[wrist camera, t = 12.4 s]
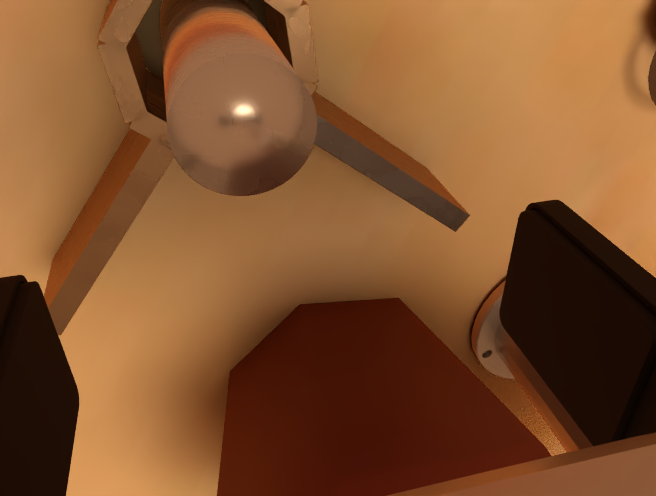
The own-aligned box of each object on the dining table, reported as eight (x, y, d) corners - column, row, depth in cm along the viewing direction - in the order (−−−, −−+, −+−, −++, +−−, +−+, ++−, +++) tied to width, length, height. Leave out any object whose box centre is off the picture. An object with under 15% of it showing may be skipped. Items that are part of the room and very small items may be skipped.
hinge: (465, 122, 35) (515, 163, 30) (281, 345, 41) (298, 409, 36) (169, -111, 25) (174, -105, 20) (-15, 234, 31) (-44, 302, 26)
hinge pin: (267, 11, 28) (345, 109, 17) (219, 84, 30) (262, 218, 18) (190, -48, 26) (221, 19, 15) (142, 33, 27) (137, 151, 16)
